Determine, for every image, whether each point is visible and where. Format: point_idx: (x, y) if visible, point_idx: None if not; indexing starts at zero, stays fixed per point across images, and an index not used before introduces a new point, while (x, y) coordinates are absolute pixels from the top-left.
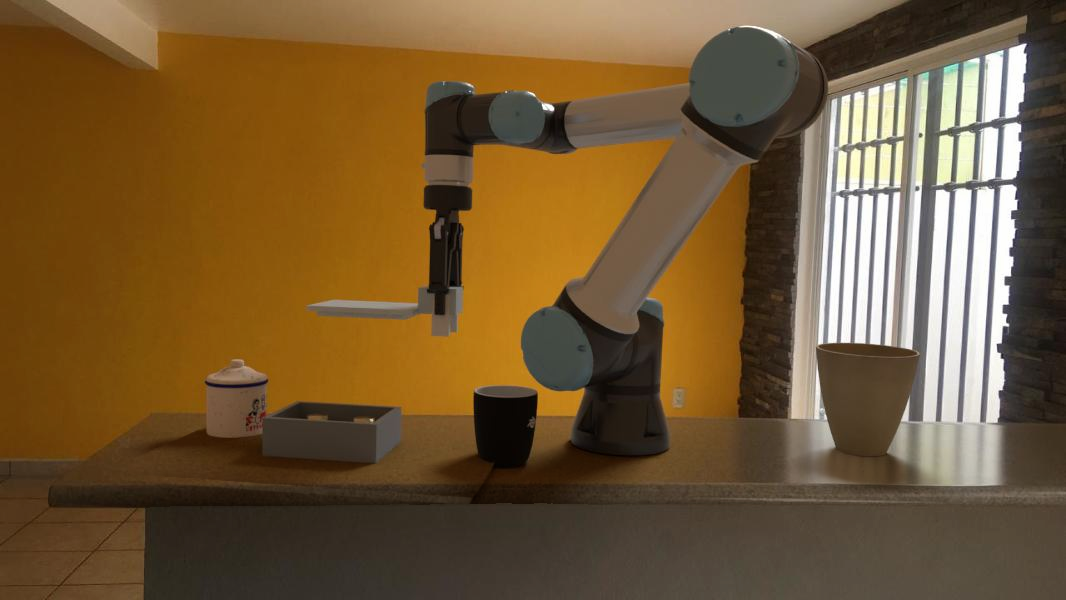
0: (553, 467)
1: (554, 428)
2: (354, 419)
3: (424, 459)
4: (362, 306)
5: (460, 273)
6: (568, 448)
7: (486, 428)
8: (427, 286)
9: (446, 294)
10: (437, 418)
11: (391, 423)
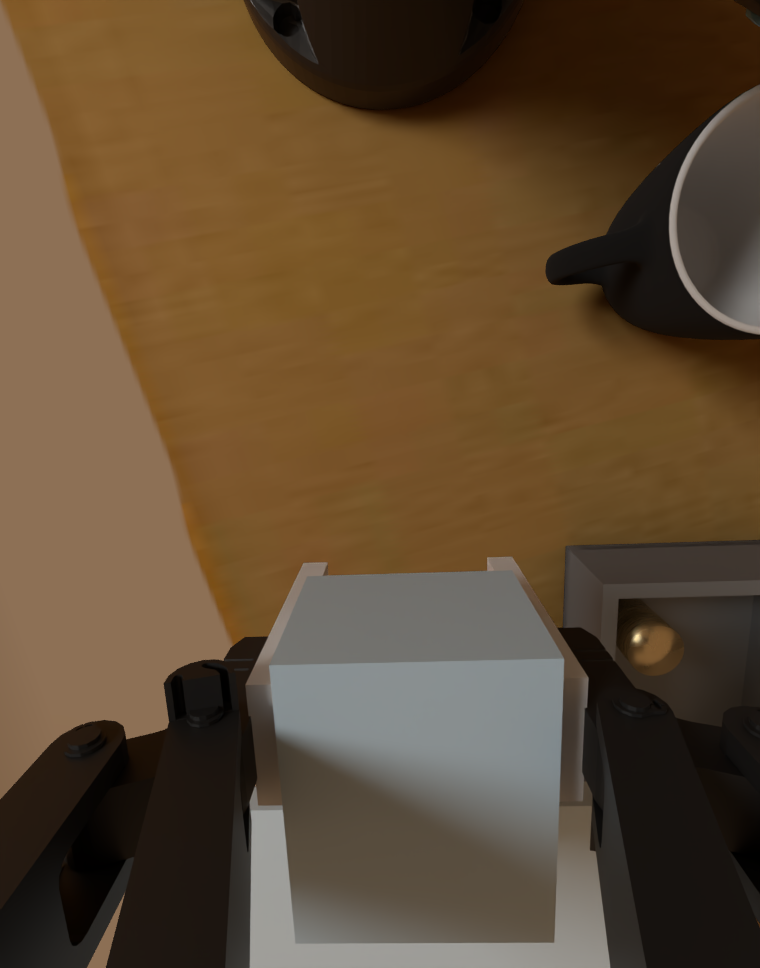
0: (687, 118)
1: (245, 191)
2: (673, 668)
3: (665, 461)
4: None
5: (53, 817)
6: (476, 107)
7: None
8: (376, 918)
9: (586, 700)
10: (239, 546)
11: (690, 571)
